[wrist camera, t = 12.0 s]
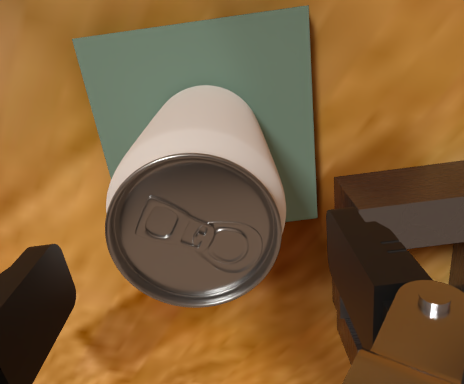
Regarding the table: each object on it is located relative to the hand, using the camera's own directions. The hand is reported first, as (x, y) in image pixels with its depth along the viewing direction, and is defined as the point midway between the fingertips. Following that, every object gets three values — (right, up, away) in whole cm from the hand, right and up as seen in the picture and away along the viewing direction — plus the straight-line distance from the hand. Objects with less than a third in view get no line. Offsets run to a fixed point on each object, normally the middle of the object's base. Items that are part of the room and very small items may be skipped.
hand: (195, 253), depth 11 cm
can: (0, +5, +12) cm, 13 cm away
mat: (0, +6, +13) cm, 14 cm away
